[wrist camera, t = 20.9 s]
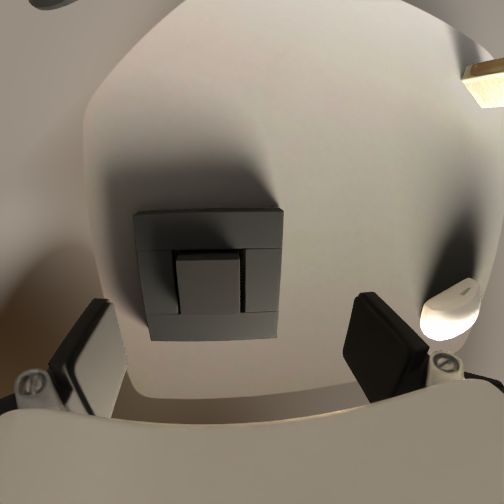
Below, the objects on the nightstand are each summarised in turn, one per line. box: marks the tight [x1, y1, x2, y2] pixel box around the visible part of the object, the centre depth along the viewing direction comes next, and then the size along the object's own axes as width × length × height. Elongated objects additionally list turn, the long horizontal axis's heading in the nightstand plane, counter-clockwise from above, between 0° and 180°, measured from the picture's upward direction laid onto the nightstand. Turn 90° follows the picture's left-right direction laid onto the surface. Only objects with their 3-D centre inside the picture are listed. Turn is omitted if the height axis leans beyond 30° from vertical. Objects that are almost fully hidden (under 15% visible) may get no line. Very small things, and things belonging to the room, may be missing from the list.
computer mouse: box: [420, 278, 481, 340], centre depth 34 cm, size 6×13×6 cm, turn 107°
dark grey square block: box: [176, 249, 240, 316], centre depth 29 cm, size 6×6×3 cm
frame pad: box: [133, 208, 284, 341], centre depth 30 cm, size 15×15×2 cm
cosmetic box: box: [462, 58, 504, 108], centre depth 20 cm, size 6×4×12 cm
